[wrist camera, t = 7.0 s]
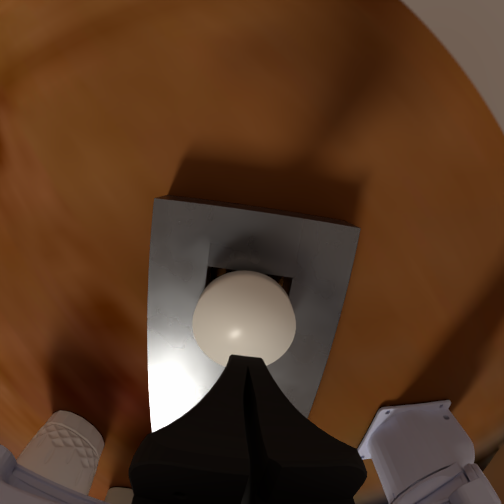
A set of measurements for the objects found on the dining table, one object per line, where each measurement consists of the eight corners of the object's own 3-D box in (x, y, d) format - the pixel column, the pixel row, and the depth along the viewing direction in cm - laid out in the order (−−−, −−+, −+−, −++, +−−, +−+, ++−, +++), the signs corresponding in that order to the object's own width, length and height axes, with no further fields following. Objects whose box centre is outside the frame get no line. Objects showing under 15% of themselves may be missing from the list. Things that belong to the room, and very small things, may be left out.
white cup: (67, 448, 26) (37, 504, 17) (38, 401, 24) (-4, 458, 15) (120, 457, 26) (95, 524, 16) (92, 409, 24) (52, 480, 15)
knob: (292, 260, 21) (305, 286, 16) (277, 334, 22) (285, 374, 17) (208, 249, 20) (196, 272, 15) (200, 324, 22) (189, 362, 17)
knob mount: (345, 220, 20) (360, 228, 17) (279, 458, 26) (282, 480, 23) (167, 194, 20) (154, 198, 17) (161, 444, 25) (155, 466, 22)
